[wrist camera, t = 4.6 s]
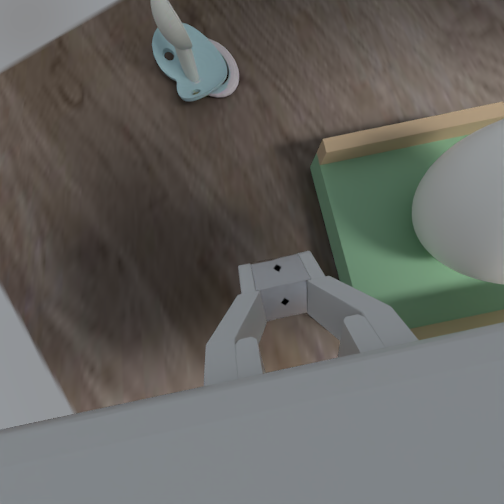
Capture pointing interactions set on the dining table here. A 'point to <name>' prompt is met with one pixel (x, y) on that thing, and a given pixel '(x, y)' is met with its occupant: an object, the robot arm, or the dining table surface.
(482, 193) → the ball
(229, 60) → the pacifier
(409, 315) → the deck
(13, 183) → the dining table surface
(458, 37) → the dining table surface
